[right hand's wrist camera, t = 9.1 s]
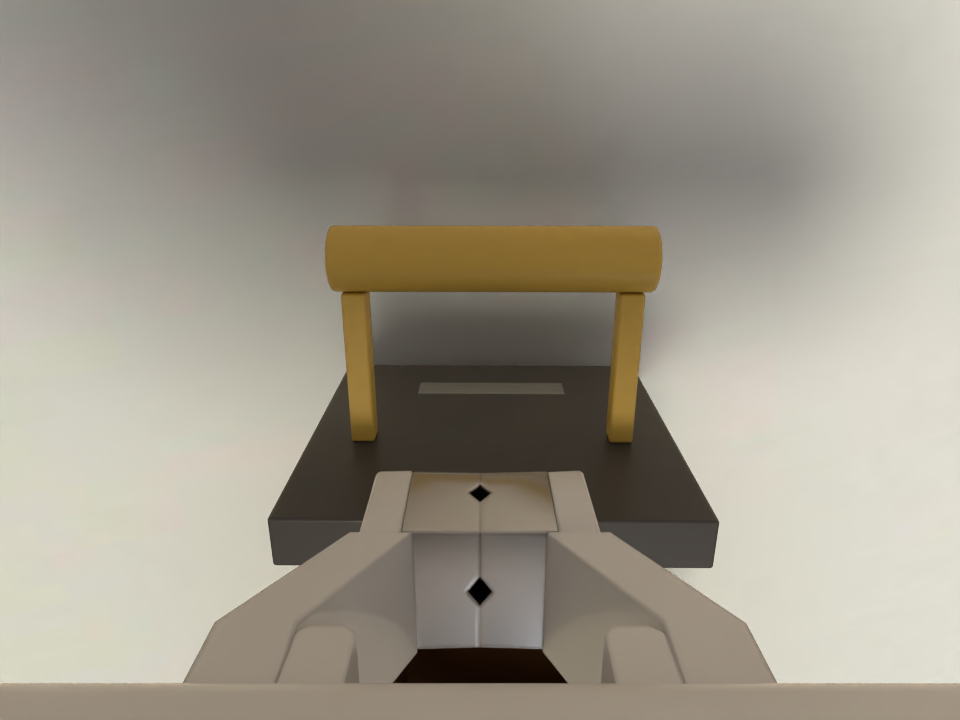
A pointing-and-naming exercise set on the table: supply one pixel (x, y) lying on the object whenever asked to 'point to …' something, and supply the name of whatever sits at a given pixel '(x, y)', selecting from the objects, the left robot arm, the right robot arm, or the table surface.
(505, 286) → the drawer
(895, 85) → the table surface
